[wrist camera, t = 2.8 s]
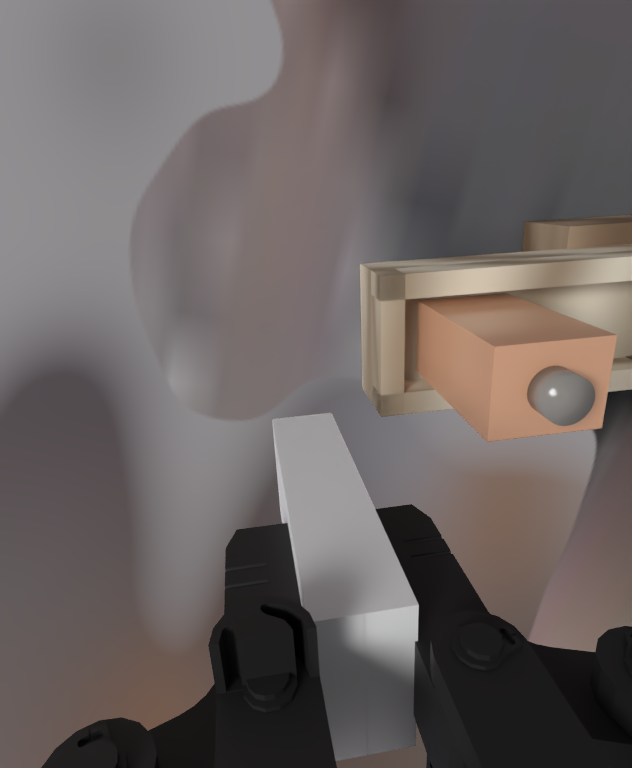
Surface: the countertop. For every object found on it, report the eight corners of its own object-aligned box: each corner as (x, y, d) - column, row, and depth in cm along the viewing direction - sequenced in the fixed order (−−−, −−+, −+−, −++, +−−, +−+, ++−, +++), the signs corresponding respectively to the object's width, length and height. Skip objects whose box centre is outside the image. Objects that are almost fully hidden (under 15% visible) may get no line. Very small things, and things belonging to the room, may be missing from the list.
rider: (416, 371, 23) (502, 456, 16) (417, 300, 22) (511, 356, 14) (500, 362, 23) (622, 442, 16) (506, 293, 22) (641, 343, 15)
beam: (346, 379, 29) (381, 438, 22) (342, 233, 26) (380, 249, 19) (750, 338, 32) (894, 379, 25) (786, 204, 29) (959, 208, 22)
